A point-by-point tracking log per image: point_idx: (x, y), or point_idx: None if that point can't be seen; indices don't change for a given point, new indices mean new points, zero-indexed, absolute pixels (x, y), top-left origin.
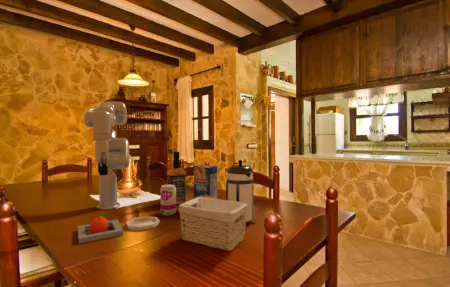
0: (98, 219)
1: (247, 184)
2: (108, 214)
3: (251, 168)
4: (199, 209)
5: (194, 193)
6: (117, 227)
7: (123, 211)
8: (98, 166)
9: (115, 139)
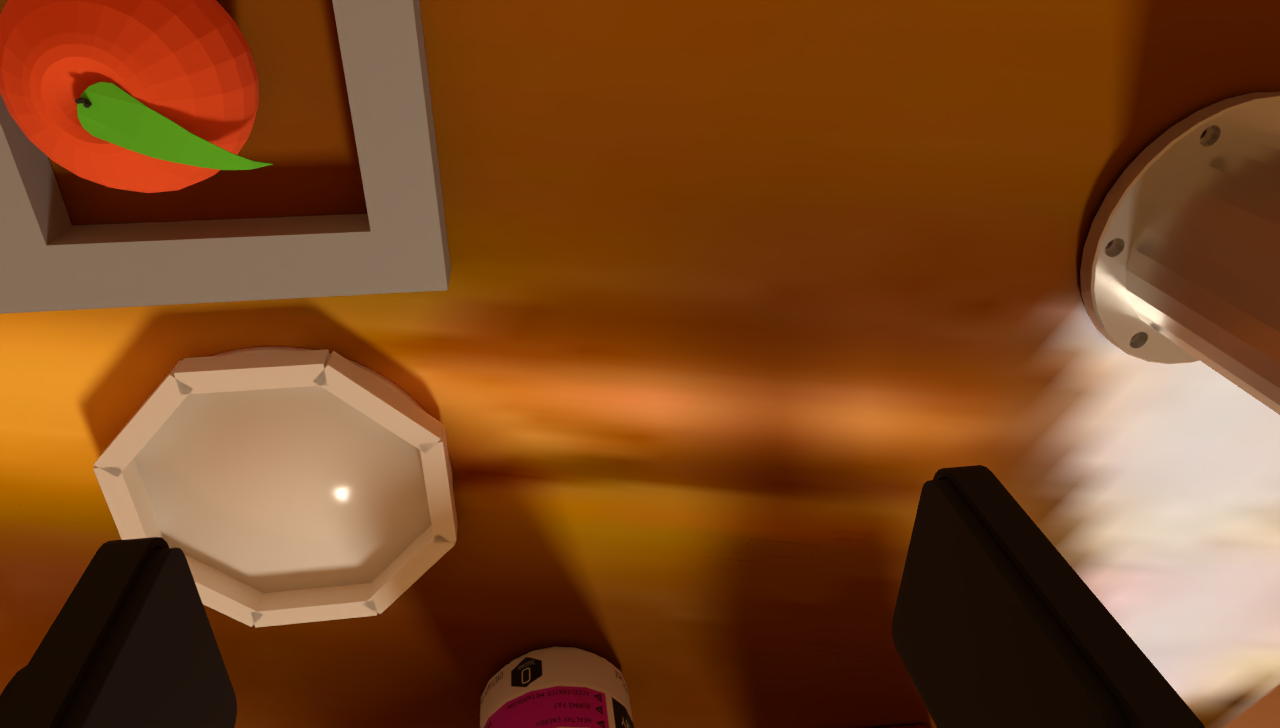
0: (23, 87)
1: None
2: (880, 208)
3: None
4: None
5: None
6: (128, 269)
7: (884, 364)
8: (1067, 670)
9: None
